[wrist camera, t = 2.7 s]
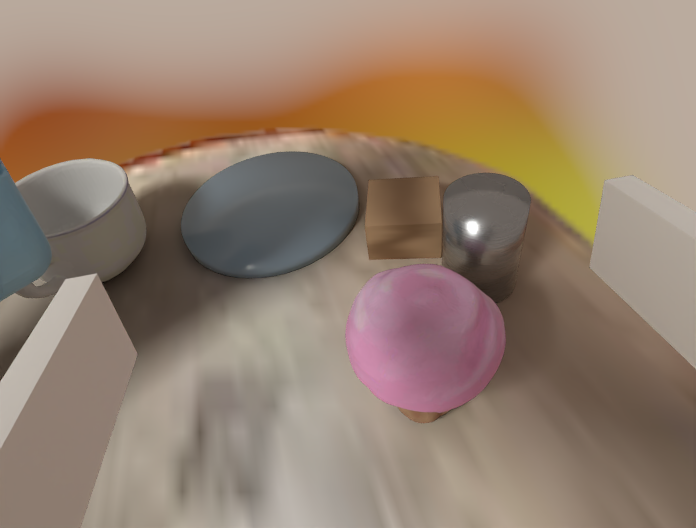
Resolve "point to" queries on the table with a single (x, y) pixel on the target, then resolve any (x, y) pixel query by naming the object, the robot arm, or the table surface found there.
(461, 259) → the metal tin
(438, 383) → the cupcake
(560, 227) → the table surface
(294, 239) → the plate
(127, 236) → the teacup
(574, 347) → the table surface
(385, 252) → the walnut block
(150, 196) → the table surface
